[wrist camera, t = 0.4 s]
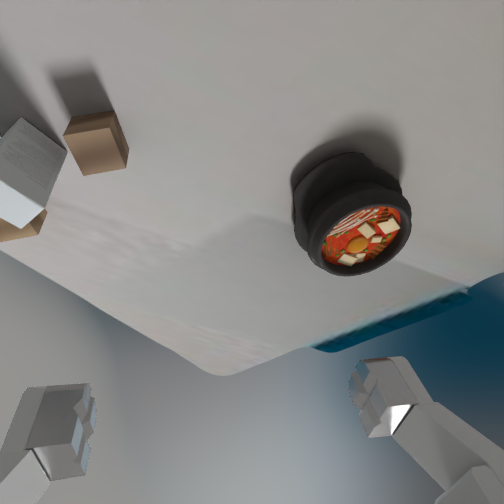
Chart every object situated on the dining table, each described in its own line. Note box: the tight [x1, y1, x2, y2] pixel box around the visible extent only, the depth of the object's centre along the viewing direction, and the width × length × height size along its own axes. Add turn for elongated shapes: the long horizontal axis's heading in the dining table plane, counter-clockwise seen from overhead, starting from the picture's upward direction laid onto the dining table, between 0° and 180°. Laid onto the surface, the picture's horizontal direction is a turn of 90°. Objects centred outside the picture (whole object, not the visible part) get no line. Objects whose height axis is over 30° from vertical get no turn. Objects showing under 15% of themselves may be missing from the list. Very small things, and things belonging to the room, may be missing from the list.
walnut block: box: [63, 111, 129, 176], centre depth 40 cm, size 5×5×5 cm
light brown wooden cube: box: [0, 209, 47, 242], centre depth 44 cm, size 5×5×5 cm
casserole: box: [293, 152, 412, 276], centre depth 55 cm, size 25×19×8 cm
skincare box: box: [0, 117, 67, 229], centre depth 37 cm, size 6×4×12 cm
